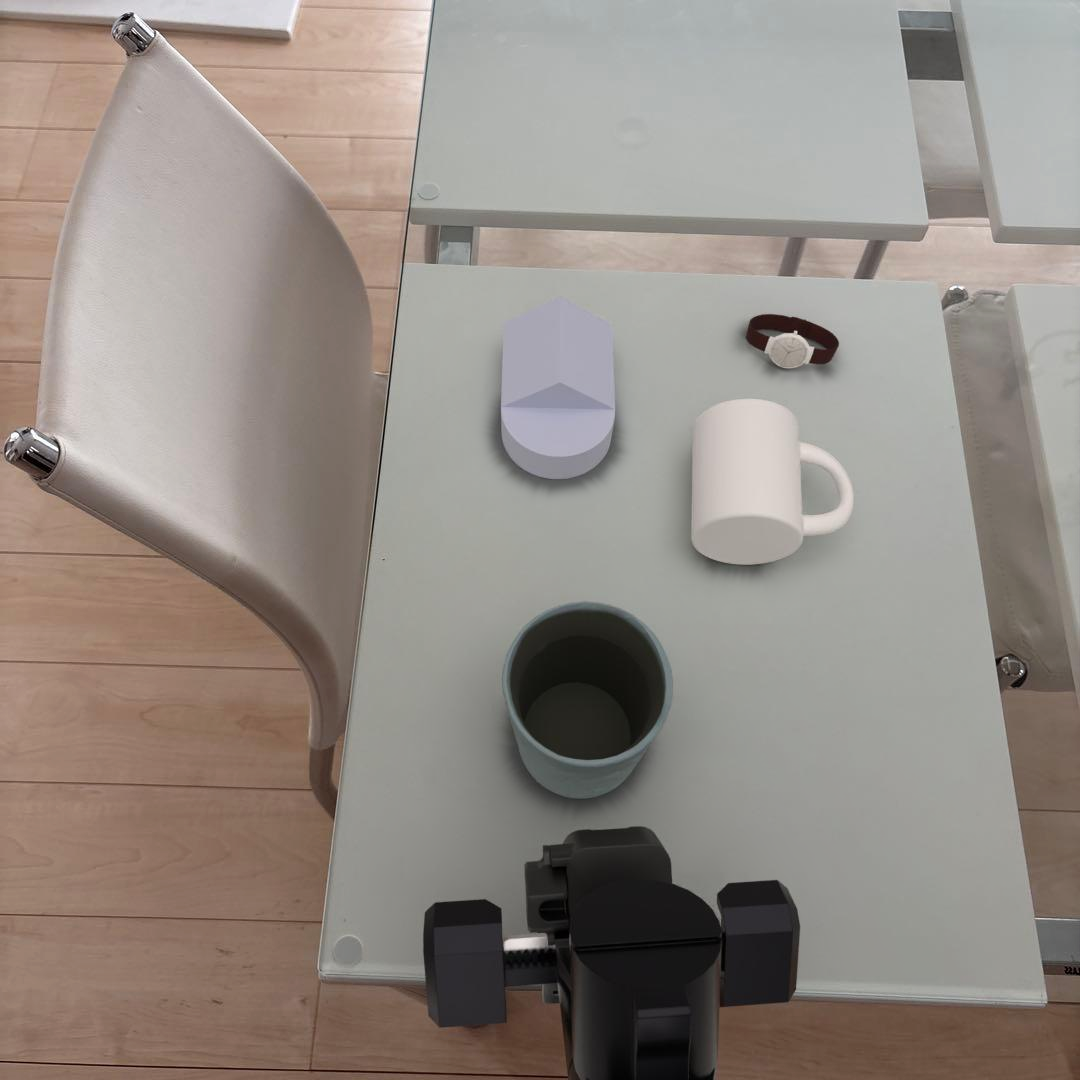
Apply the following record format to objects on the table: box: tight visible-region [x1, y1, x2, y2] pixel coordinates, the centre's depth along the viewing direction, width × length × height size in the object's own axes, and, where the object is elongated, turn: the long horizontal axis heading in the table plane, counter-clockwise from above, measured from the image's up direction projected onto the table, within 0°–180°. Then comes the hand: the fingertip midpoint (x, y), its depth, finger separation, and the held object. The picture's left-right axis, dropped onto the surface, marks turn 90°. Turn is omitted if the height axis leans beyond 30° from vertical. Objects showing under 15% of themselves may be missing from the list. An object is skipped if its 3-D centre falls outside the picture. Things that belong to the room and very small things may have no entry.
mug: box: [690, 398, 855, 566], centre depth 72 cm, size 12×10×8 cm
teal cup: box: [501, 600, 674, 800], centre depth 61 cm, size 10×10×12 cm
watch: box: [745, 313, 840, 369], centre depth 81 cm, size 8×5×4 cm, turn 73°
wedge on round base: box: [500, 295, 616, 480], centre depth 76 cm, size 9×7×13 cm
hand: (591, 853), depth 57 cm, fingers closed
